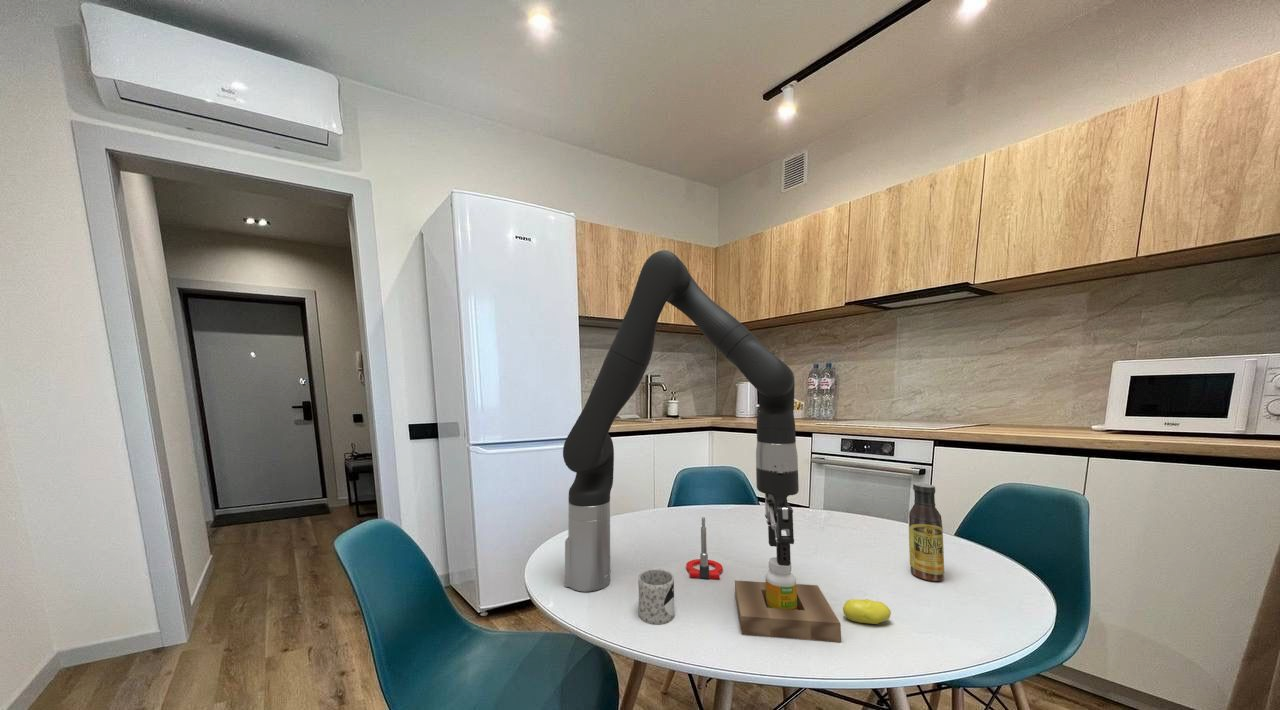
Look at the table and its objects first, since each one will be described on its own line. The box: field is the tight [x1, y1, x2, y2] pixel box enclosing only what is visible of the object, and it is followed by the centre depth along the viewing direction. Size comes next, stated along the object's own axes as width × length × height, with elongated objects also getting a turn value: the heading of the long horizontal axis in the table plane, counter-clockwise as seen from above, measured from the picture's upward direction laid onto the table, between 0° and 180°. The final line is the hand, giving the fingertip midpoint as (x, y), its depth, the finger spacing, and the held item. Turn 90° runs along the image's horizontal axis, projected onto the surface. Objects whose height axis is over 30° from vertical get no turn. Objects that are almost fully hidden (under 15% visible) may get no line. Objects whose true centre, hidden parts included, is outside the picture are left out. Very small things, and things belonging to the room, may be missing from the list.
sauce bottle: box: [908, 482, 945, 582], centre depth 89 cm, size 6×6×20 cm
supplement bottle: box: [765, 556, 797, 610], centre depth 73 cm, size 5×5×10 cm
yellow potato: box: [842, 598, 892, 625], centre depth 71 cm, size 4×8×4 cm, turn 79°
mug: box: [638, 568, 675, 626], centre depth 76 cm, size 10×7×7 cm
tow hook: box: [685, 516, 724, 580], centre depth 93 cm, size 8×13×9 cm
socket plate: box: [734, 580, 842, 643], centre depth 73 cm, size 16×13×3 cm
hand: (779, 554), depth 74 cm, fingers open, 8 cm apart
